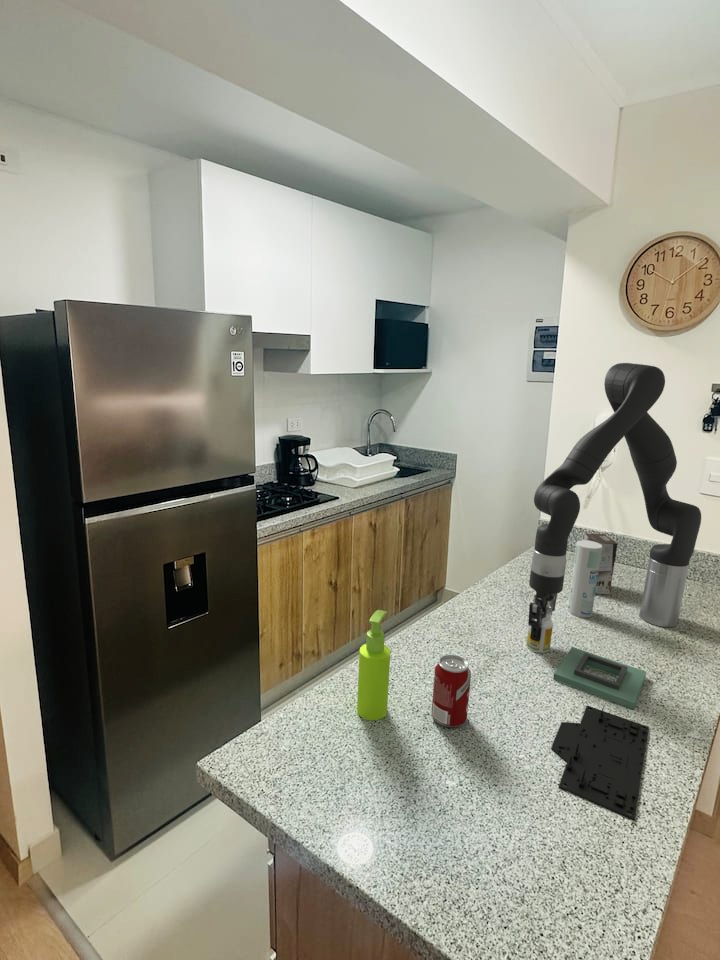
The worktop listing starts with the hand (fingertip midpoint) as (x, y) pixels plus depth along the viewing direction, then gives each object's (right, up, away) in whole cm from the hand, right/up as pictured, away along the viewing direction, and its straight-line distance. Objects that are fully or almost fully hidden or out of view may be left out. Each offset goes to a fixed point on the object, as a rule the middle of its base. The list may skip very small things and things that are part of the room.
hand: (539, 634), depth 129 cm
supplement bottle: (0, -4, +1) cm, 4 cm away
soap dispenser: (-41, -8, -24) cm, 48 cm away
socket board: (+10, -7, -11) cm, 16 cm away
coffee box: (+29, +4, +36) cm, 46 cm away
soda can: (-26, -9, -25) cm, 38 cm away
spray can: (+18, 0, +20) cm, 26 cm away
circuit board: (-1, -12, -33) cm, 35 cm away
